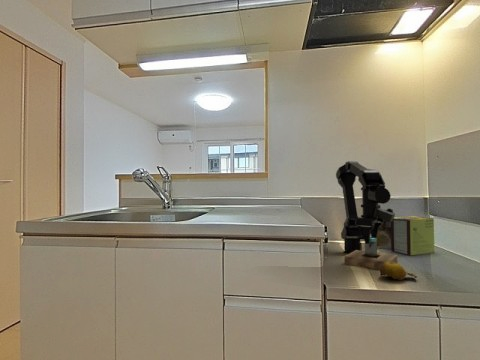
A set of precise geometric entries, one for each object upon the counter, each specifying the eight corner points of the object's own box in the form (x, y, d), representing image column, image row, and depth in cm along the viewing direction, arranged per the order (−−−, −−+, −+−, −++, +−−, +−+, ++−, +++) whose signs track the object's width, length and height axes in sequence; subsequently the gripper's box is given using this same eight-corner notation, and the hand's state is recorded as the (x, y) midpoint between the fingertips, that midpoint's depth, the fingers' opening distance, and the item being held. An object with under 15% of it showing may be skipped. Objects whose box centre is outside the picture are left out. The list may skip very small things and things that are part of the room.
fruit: (421, 278, 100) (420, 263, 101) (401, 283, 95) (401, 267, 95) (389, 270, 110) (389, 256, 110) (370, 275, 104) (370, 260, 104)
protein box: (435, 252, 139) (434, 217, 139) (410, 255, 133) (410, 219, 133) (413, 248, 148) (413, 215, 148) (390, 251, 142) (389, 217, 142)
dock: (344, 263, 121) (344, 256, 121) (356, 256, 132) (356, 249, 132) (388, 270, 111) (388, 262, 111) (397, 262, 122) (397, 255, 122)
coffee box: (393, 246, 151) (392, 213, 151) (393, 249, 145) (393, 215, 145) (373, 245, 155) (372, 213, 155) (372, 247, 149) (372, 214, 149)
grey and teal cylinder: (363, 263, 121) (363, 238, 121) (366, 261, 124) (366, 236, 124) (375, 265, 118) (374, 239, 118) (378, 263, 122) (378, 237, 122)
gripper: (386, 204, 109) (386, 248, 109) (398, 201, 123) (398, 240, 123) (354, 203, 116) (354, 244, 116) (369, 200, 130) (369, 237, 130)
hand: (370, 241), depth 121 cm, fingers open, 9 cm apart
